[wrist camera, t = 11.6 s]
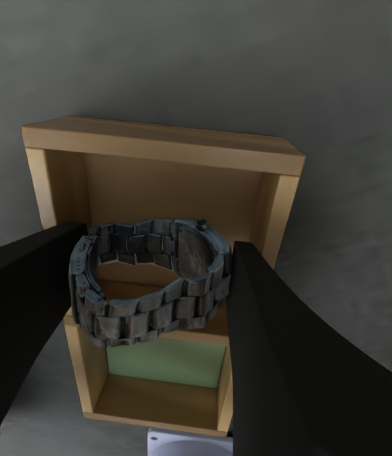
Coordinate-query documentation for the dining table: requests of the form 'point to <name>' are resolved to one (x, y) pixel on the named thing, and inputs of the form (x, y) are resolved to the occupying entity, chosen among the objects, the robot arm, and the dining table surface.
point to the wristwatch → (159, 301)
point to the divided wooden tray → (151, 274)
